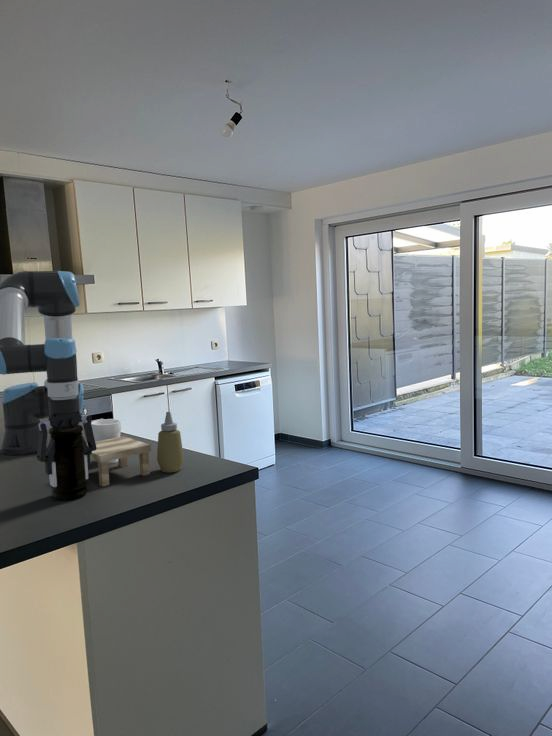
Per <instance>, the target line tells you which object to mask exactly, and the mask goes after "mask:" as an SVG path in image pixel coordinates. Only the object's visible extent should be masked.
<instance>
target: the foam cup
mask: <svg viewBox="0 0 552 736" xmlns="http://www.w3.org/2000/svg"><path fill="white" fill-rule="evenodd" d="M91 426H92V430H93V434H94V439H95V442H98V441H102V440H107V439H112V438H117V437H121V431H122V428H123V427H122V420H121V419H120V418H119V419H118V418H107V419H105V418H104V419H103V418H102V419H97V420H94V421H91ZM117 462H118V459H115V460H111V461H108V465H111V464H114V463H117Z"/></svg>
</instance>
